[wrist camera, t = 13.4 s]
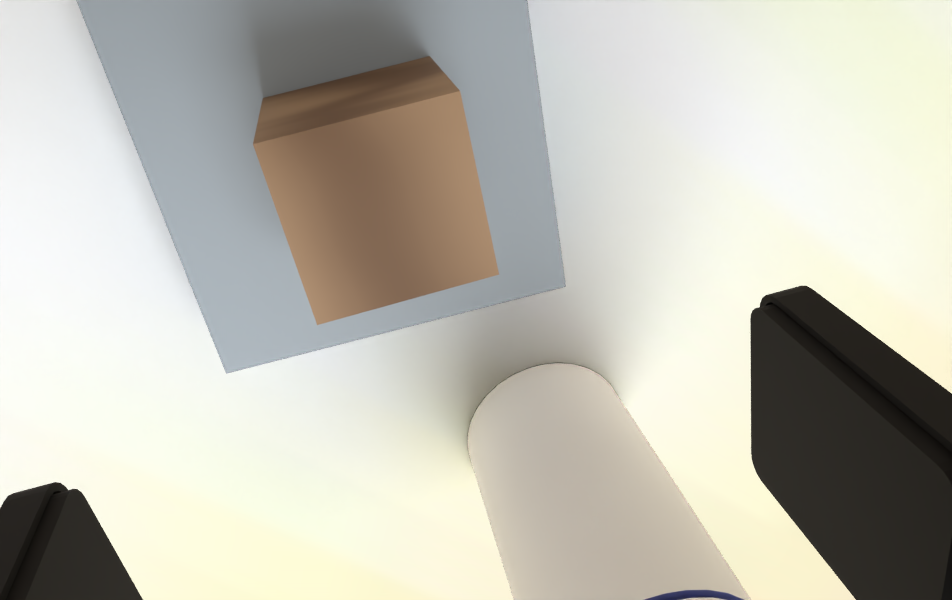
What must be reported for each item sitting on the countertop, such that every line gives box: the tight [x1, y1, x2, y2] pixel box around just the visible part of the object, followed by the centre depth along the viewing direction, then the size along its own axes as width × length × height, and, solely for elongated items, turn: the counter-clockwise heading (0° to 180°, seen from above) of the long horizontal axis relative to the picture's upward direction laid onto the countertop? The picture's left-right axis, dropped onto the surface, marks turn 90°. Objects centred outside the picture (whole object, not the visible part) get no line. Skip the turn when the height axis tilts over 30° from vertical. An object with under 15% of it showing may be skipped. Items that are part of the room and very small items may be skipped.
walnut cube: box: [253, 56, 499, 325], centre depth 21 cm, size 5×5×5 cm
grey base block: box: [77, 0, 566, 374], centre depth 25 cm, size 12×12×4 cm
